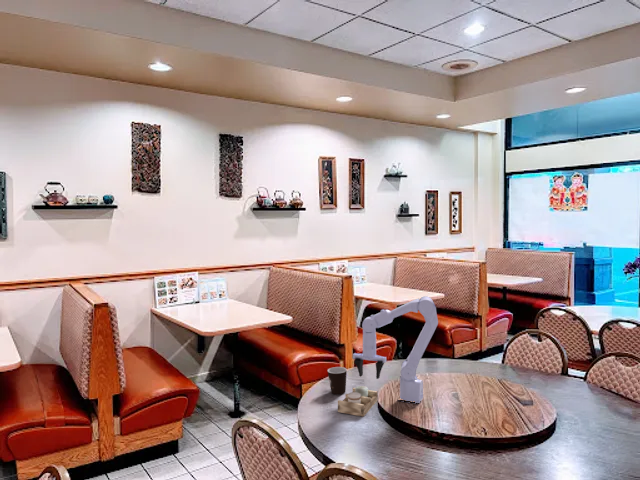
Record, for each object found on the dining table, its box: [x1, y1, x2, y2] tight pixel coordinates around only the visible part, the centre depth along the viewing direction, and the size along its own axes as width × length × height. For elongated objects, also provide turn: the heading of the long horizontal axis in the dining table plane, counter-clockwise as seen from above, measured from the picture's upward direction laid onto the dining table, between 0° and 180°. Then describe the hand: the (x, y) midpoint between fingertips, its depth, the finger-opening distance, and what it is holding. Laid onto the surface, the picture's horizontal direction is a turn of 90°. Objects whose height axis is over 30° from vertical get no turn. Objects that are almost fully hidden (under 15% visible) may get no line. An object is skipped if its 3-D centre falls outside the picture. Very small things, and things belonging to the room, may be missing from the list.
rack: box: [337, 385, 379, 417], centre depth 204 cm, size 11×17×6 cm, turn 154°
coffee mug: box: [327, 366, 348, 396], centre depth 222 cm, size 12×9×10 cm
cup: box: [347, 391, 361, 404], centre depth 200 cm, size 5×5×6 cm
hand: (369, 376), depth 211 cm, fingers open, 7 cm apart
